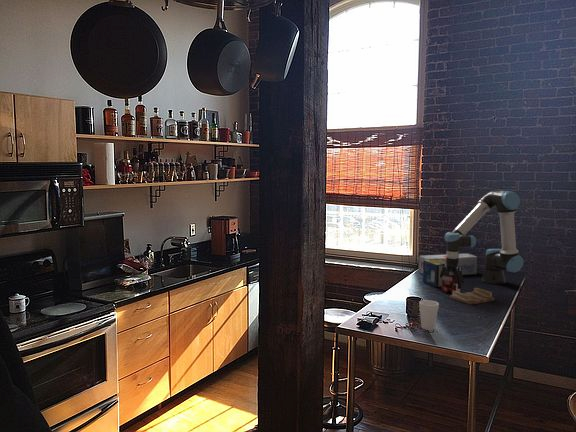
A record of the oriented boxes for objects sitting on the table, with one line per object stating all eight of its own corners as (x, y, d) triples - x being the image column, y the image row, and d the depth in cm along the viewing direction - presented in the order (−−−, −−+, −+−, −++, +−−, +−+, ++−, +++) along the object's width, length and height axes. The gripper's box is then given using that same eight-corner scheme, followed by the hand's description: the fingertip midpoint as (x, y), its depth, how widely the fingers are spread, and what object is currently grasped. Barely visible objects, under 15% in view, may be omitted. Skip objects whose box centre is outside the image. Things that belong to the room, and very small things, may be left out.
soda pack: (468, 270, 370) (468, 253, 369) (477, 274, 358) (478, 256, 356) (418, 272, 364) (418, 254, 362) (425, 276, 351) (426, 258, 349)
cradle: (473, 293, 307) (473, 286, 306) (494, 300, 292) (494, 293, 292) (449, 297, 298) (450, 290, 297) (470, 304, 283) (470, 297, 283)
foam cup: (415, 324, 248) (416, 300, 247) (433, 324, 249) (434, 299, 248) (422, 331, 239) (423, 305, 238) (440, 331, 240) (441, 305, 238)
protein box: (435, 280, 339) (436, 258, 338) (449, 286, 325) (450, 263, 323) (422, 281, 336) (423, 259, 334) (435, 287, 322) (436, 264, 320)
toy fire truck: (459, 295, 304) (460, 278, 302) (439, 291, 311) (440, 275, 310) (462, 292, 309) (463, 276, 308) (443, 289, 316) (443, 273, 315)
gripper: (434, 254, 316) (433, 287, 319) (462, 261, 295) (460, 296, 298) (443, 253, 319) (441, 286, 322) (471, 260, 299) (469, 295, 301)
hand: (450, 291), depth 310 cm, fingers closed on toy fire truck, 11 cm apart
